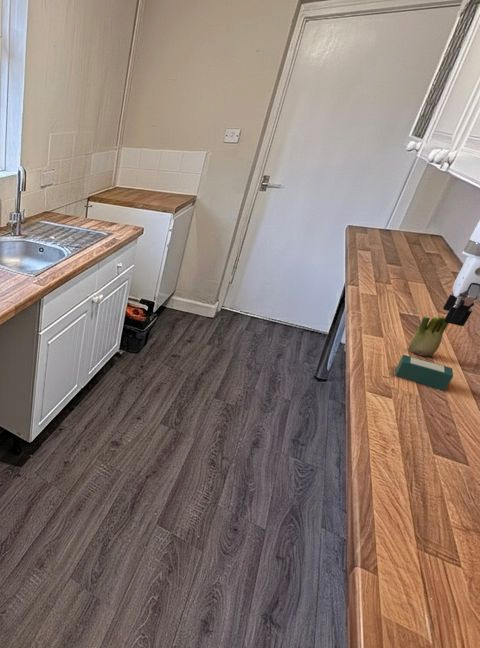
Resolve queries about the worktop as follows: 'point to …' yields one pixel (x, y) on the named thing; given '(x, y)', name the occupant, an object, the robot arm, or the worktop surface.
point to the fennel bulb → (428, 336)
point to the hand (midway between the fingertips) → (452, 317)
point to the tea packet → (424, 372)
